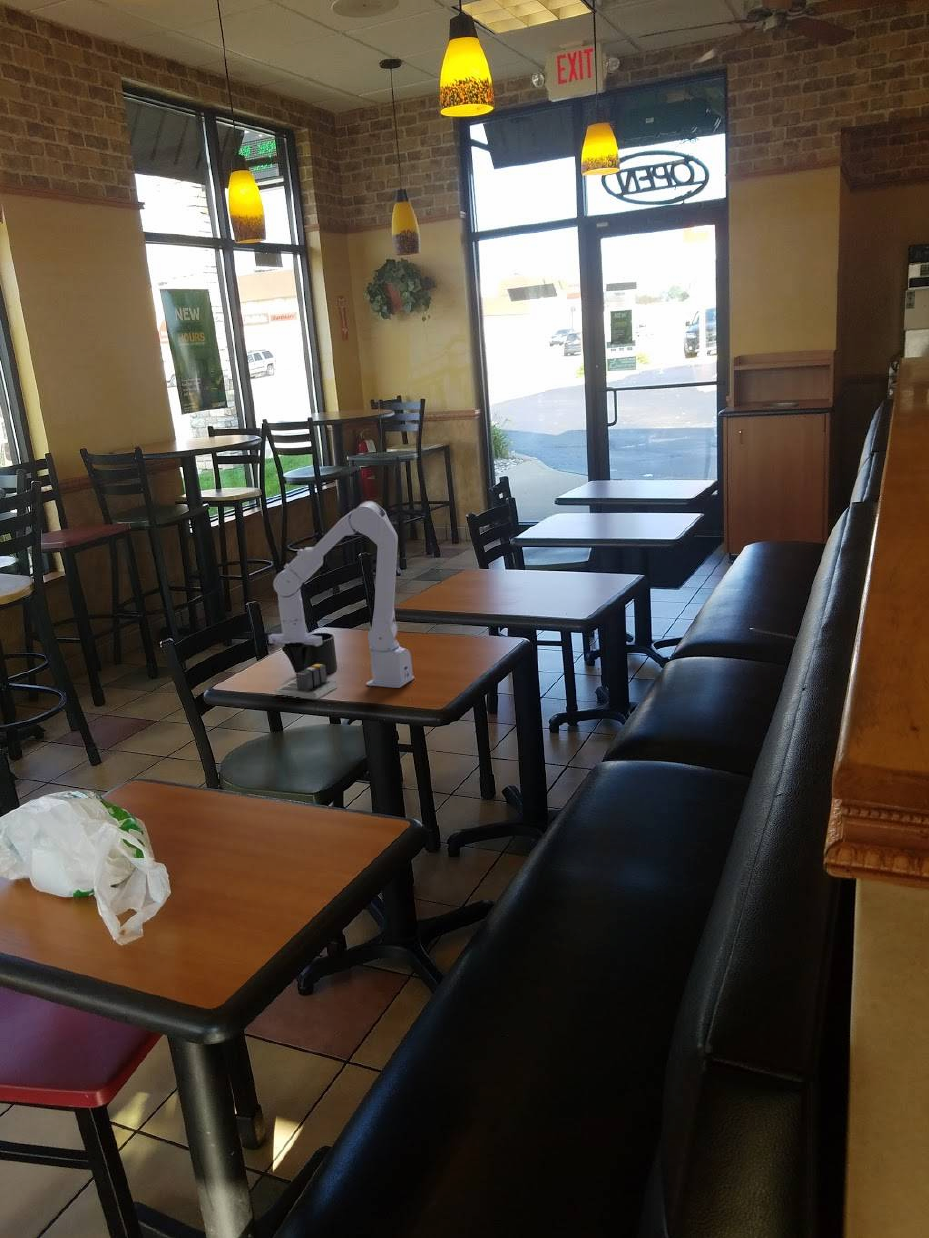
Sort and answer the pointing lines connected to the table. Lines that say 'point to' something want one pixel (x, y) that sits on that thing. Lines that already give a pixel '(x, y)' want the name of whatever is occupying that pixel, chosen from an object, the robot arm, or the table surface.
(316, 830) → the table surface
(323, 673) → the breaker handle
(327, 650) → the mug
